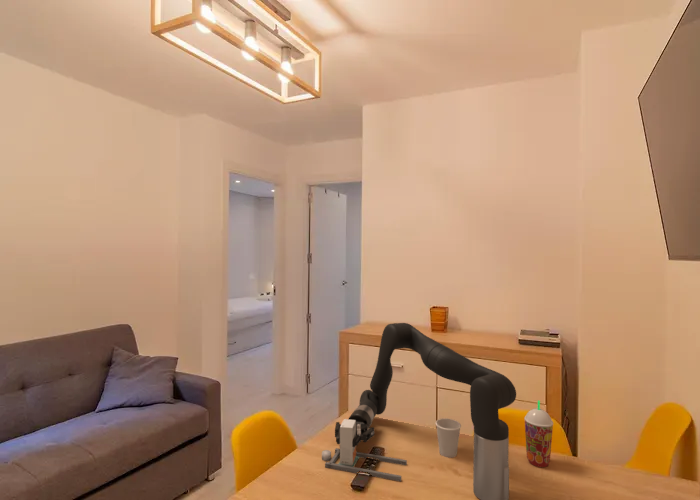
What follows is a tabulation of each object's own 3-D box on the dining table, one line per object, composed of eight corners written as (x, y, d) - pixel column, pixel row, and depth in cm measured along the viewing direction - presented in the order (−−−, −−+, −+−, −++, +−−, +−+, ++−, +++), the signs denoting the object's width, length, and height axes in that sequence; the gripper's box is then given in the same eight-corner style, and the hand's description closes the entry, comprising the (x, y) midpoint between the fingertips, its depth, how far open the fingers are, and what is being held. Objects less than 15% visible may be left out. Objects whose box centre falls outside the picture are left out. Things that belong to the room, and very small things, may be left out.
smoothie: (518, 459, 130) (518, 398, 130) (536, 453, 134) (537, 394, 134) (540, 472, 123) (540, 407, 122) (558, 466, 126) (559, 403, 126)
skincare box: (353, 466, 125) (352, 428, 125) (339, 464, 126) (339, 427, 125) (356, 455, 131) (356, 419, 131) (343, 454, 132) (343, 418, 131)
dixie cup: (460, 448, 137) (460, 419, 137) (461, 461, 129) (461, 430, 129) (435, 445, 139) (435, 416, 139) (434, 457, 131) (434, 427, 131)
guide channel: (406, 463, 127) (406, 457, 127) (400, 481, 118) (400, 474, 118) (327, 450, 136) (327, 444, 136) (316, 465, 126) (316, 459, 126)
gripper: (342, 406, 144) (324, 427, 128) (380, 411, 139) (367, 434, 123) (342, 427, 144) (324, 450, 128) (380, 433, 140) (367, 458, 123)
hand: (345, 442), depth 126 cm, fingers closed on skincare box, 4 cm apart
